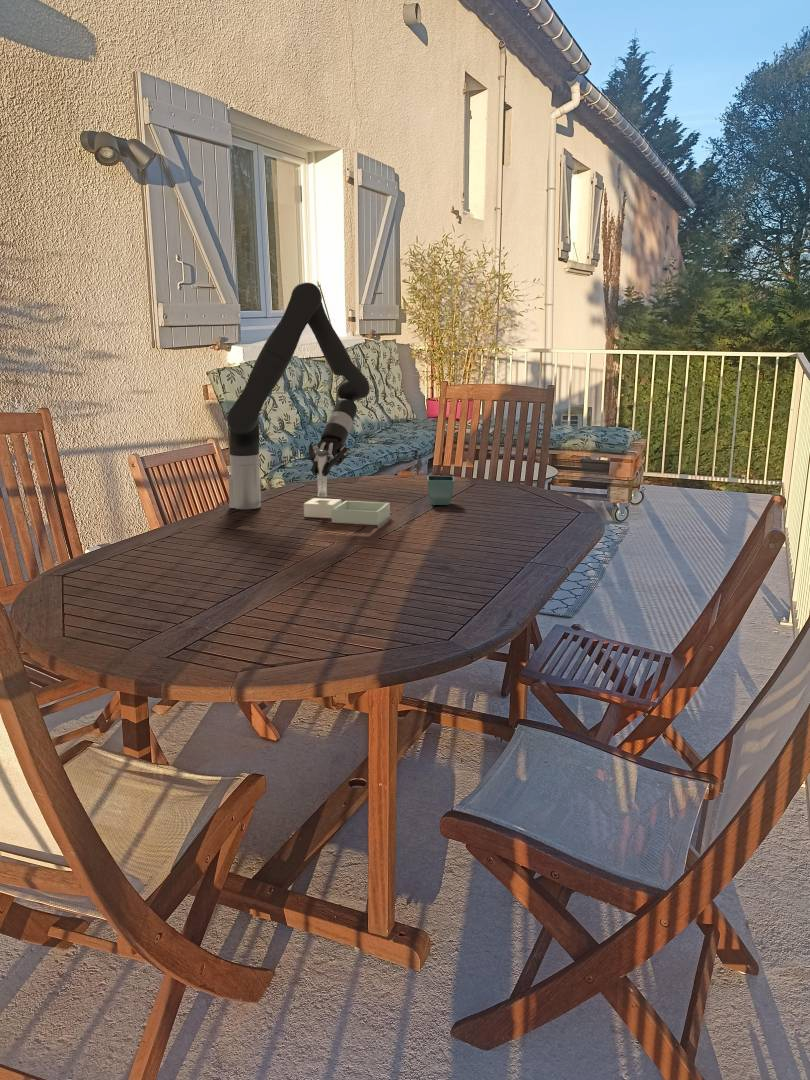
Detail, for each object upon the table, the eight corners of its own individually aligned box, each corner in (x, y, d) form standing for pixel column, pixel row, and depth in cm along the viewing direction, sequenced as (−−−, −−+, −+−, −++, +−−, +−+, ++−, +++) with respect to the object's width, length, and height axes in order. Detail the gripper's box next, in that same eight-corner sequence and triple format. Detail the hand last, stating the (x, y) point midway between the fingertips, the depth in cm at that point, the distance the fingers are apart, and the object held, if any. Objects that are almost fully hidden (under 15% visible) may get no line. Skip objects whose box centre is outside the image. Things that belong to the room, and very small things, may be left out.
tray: (331, 525, 246) (331, 509, 245) (345, 515, 259) (345, 500, 258) (378, 528, 243) (377, 511, 242) (389, 518, 256) (389, 502, 255)
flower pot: (454, 507, 273) (454, 480, 271) (427, 507, 273) (427, 480, 271) (453, 502, 282) (453, 475, 280) (427, 502, 282) (427, 475, 280)
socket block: (304, 519, 254) (303, 503, 252) (314, 513, 262) (313, 498, 261) (332, 521, 252) (332, 504, 250) (341, 515, 260) (341, 499, 259)
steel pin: (315, 496, 254) (314, 450, 251) (318, 494, 257) (318, 449, 254) (325, 497, 253) (325, 451, 250) (329, 495, 257) (328, 449, 253)
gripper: (313, 420, 260) (293, 465, 251) (353, 422, 254) (335, 468, 246) (321, 436, 266) (302, 480, 257) (361, 438, 260) (343, 483, 252)
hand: (318, 474), depth 252 cm, fingers closed on steel pin, 2 cm apart
